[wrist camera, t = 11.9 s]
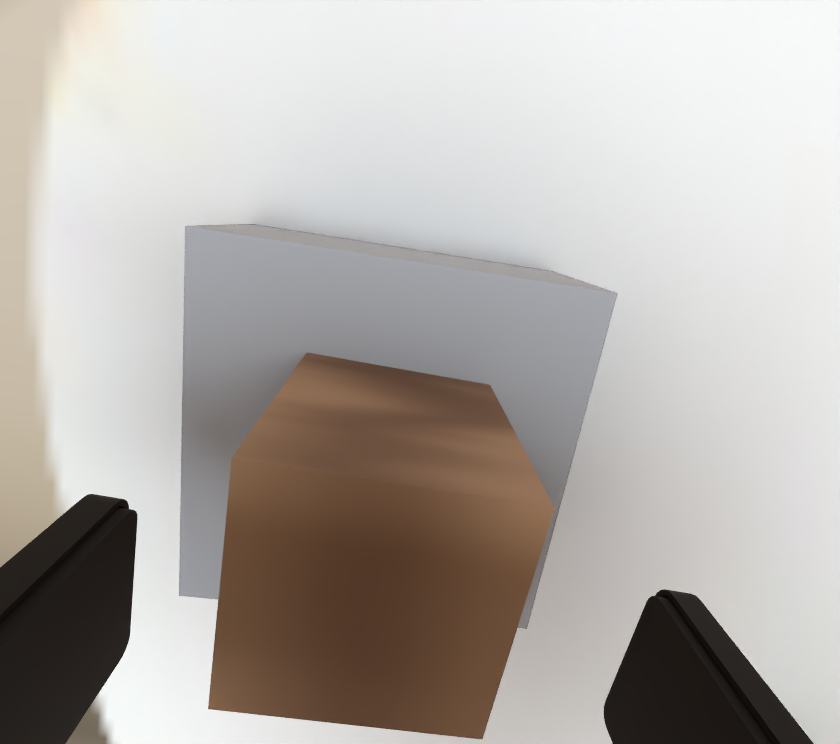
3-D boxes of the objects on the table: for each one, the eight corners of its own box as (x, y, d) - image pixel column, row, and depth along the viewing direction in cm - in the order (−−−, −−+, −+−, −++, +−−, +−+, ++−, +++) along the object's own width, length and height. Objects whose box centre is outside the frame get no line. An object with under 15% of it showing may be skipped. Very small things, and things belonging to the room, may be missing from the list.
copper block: (490, 384, 13) (555, 508, 8) (451, 539, 15) (482, 739, 9) (306, 352, 13) (231, 457, 7) (285, 514, 14) (207, 709, 9)
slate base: (550, 270, 19) (617, 293, 13) (493, 521, 22) (526, 628, 16) (254, 223, 18) (185, 225, 12) (239, 492, 21) (179, 595, 15)
